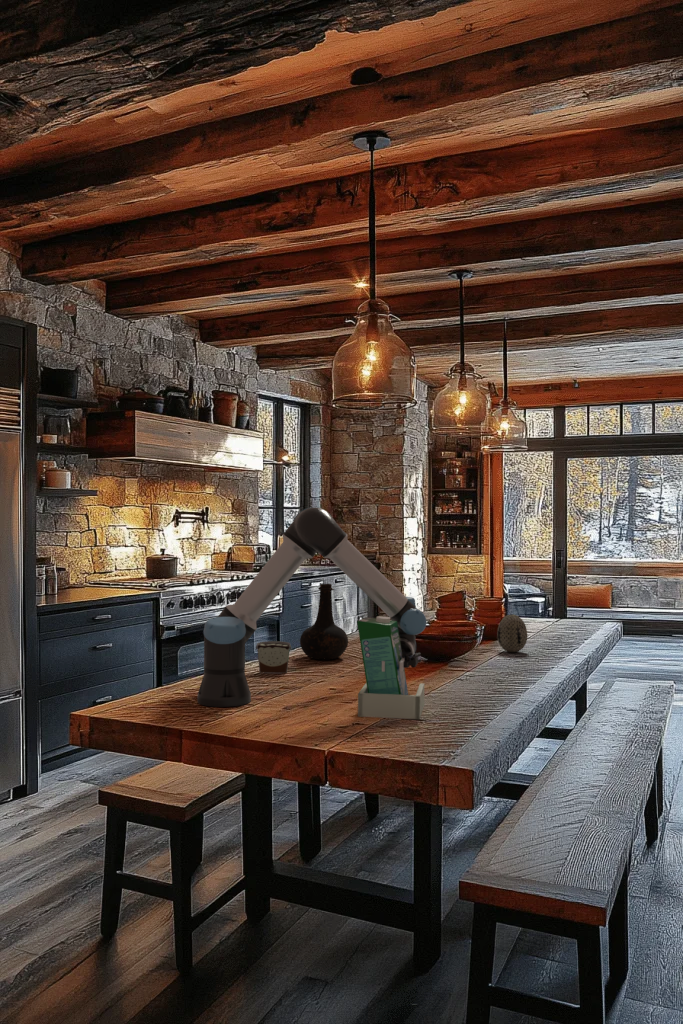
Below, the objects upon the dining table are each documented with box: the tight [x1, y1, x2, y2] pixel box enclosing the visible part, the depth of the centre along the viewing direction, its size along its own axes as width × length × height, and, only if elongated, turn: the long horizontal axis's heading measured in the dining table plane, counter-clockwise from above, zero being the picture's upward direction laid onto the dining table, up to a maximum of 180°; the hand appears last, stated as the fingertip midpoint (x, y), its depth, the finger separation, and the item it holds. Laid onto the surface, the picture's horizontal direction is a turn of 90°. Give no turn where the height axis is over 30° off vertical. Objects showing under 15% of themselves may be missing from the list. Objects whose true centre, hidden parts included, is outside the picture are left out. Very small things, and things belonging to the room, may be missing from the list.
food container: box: [255, 640, 292, 674], centre depth 283 cm, size 12×6×10 cm, turn 84°
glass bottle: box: [299, 583, 349, 661], centre depth 311 cm, size 18×18×28 cm
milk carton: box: [356, 615, 409, 695], centre depth 229 cm, size 9×9×25 cm
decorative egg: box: [496, 613, 528, 653], centre depth 327 cm, size 12×12×15 cm
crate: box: [357, 682, 425, 720], centre depth 227 cm, size 17×16×6 cm
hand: (392, 666), depth 224 cm, fingers open, 4 cm apart
